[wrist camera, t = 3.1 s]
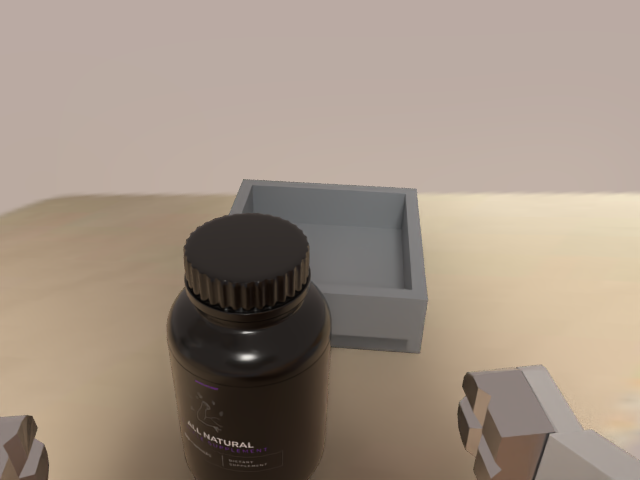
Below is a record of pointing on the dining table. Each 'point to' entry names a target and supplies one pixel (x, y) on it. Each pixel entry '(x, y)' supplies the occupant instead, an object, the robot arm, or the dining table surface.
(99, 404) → the dining table surface
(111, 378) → the dining table surface
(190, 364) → the supplement bottle
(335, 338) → the tray
